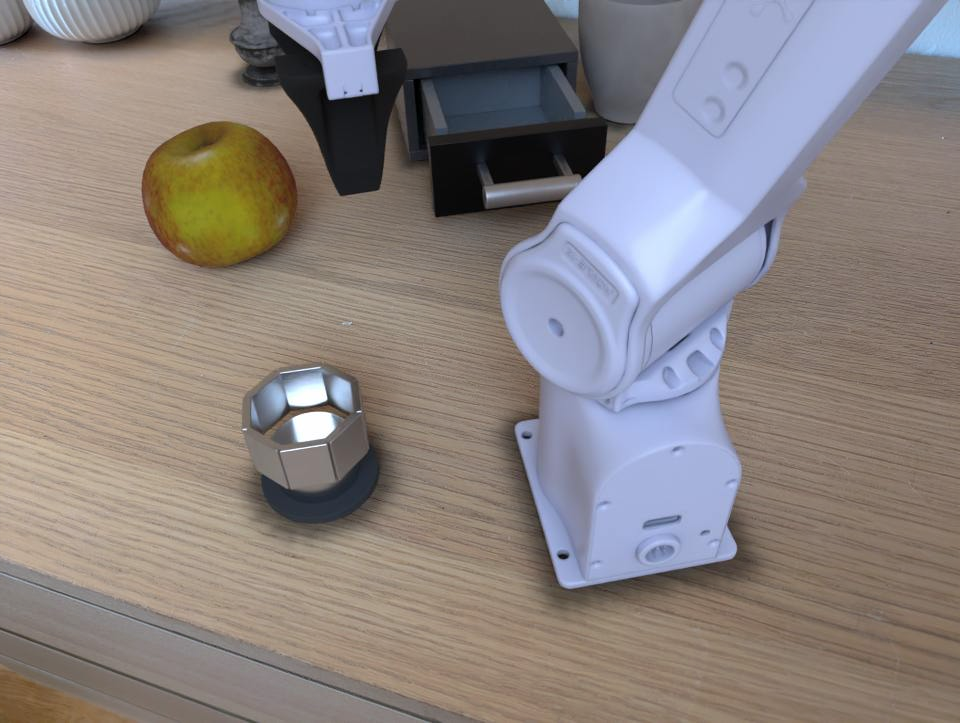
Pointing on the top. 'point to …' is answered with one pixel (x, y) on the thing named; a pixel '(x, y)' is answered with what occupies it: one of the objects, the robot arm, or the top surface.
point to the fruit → (218, 194)
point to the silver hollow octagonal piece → (307, 431)
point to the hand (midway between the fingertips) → (353, 170)
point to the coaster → (328, 509)
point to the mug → (629, 50)
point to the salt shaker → (256, 46)
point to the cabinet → (471, 46)
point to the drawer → (506, 139)
